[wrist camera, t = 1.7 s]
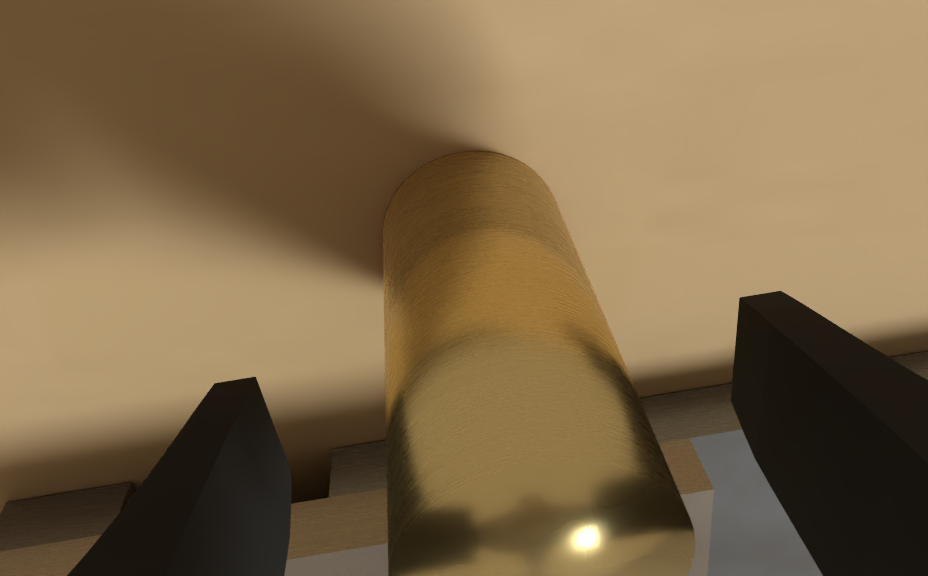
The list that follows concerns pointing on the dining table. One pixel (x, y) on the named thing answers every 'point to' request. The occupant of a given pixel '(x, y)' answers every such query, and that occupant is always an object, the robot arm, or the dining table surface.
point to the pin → (511, 393)
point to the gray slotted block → (365, 504)
